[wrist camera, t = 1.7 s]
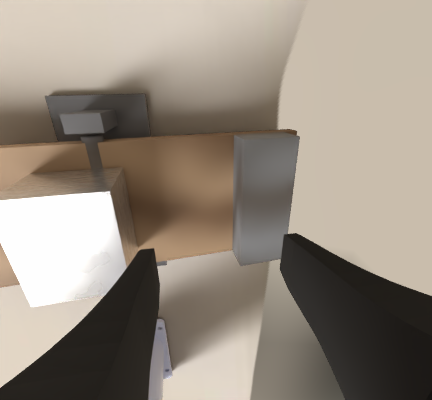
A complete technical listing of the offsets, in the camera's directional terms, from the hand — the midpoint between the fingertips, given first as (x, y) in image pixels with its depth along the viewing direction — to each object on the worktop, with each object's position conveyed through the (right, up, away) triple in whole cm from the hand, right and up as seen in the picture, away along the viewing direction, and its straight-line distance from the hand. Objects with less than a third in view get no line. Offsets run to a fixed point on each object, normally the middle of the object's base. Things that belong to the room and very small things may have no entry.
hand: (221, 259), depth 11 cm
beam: (-7, +2, +5) cm, 9 cm away
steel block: (-8, +2, +4) cm, 9 cm away
